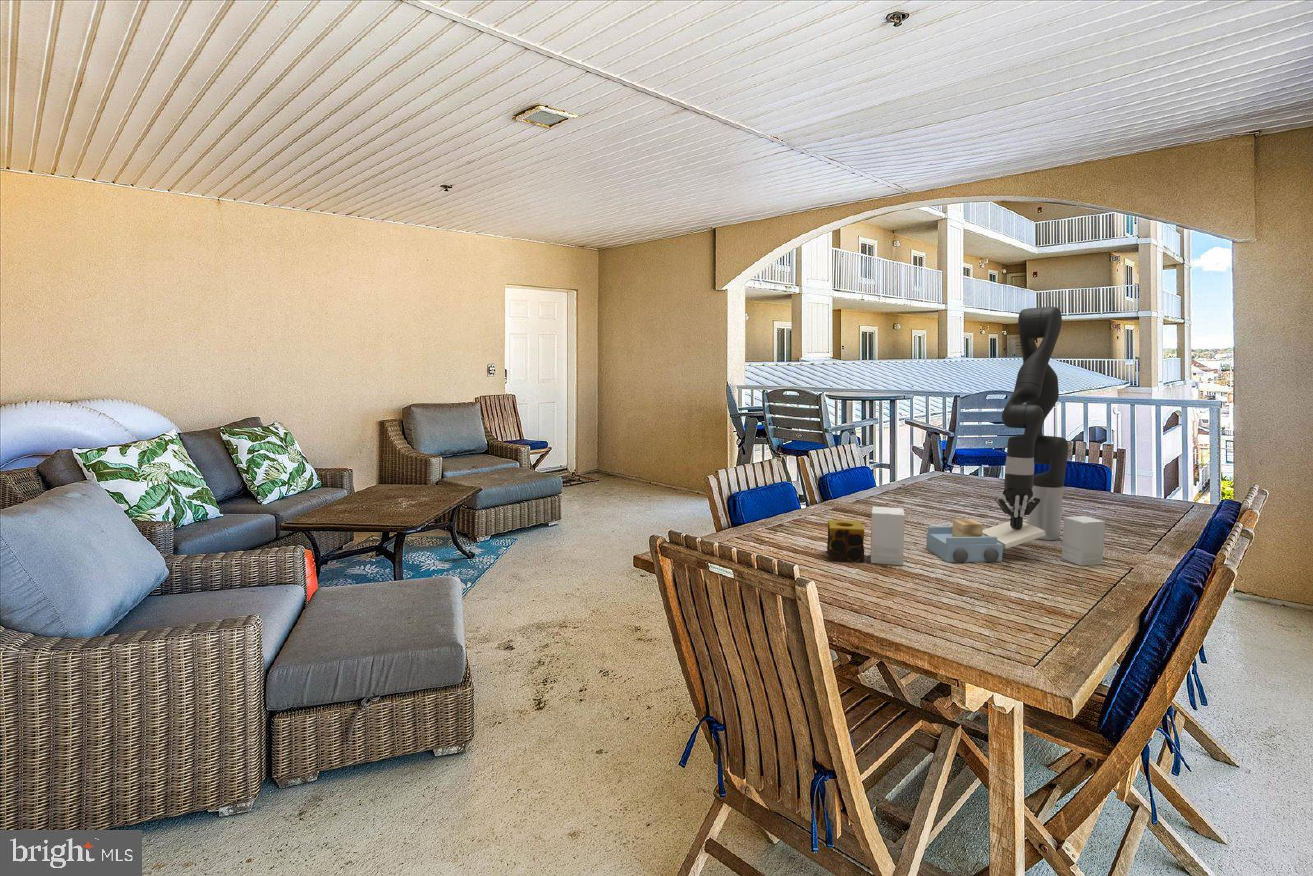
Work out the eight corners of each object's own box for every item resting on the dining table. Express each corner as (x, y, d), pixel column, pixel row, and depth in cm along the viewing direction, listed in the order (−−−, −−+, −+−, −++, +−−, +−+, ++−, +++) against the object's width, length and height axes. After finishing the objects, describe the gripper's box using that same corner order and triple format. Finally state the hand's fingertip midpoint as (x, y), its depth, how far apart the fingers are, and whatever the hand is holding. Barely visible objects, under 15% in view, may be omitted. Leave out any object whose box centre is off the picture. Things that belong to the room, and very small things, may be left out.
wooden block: (971, 535, 199) (972, 519, 198) (981, 540, 193) (982, 524, 193) (952, 535, 199) (952, 519, 198) (961, 541, 193) (962, 524, 192)
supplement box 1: (902, 557, 195) (904, 507, 193) (903, 566, 186) (905, 514, 184) (870, 554, 197) (872, 505, 196) (869, 563, 189) (871, 512, 187)
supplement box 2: (1103, 564, 186) (1106, 521, 185) (1080, 566, 185) (1083, 522, 184) (1082, 557, 194) (1085, 515, 192) (1060, 558, 192) (1063, 516, 191)
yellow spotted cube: (864, 563, 189) (865, 529, 188) (828, 561, 191) (829, 528, 190) (860, 552, 199) (861, 520, 198) (826, 551, 201) (827, 519, 200)
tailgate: (980, 535, 203) (1017, 522, 203) (1006, 548, 189) (1045, 535, 189) (979, 531, 203) (1016, 518, 203) (1005, 544, 189) (1044, 530, 189)
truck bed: (975, 546, 205) (976, 524, 204) (1003, 562, 189) (1004, 538, 188) (925, 547, 204) (926, 525, 203) (948, 563, 189) (950, 539, 188)
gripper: (1033, 469, 198) (1030, 525, 200) (990, 469, 197) (987, 526, 199) (1049, 473, 190) (1045, 531, 192) (1004, 474, 190) (1001, 532, 192)
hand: (1015, 528), depth 196 cm, fingers closed
